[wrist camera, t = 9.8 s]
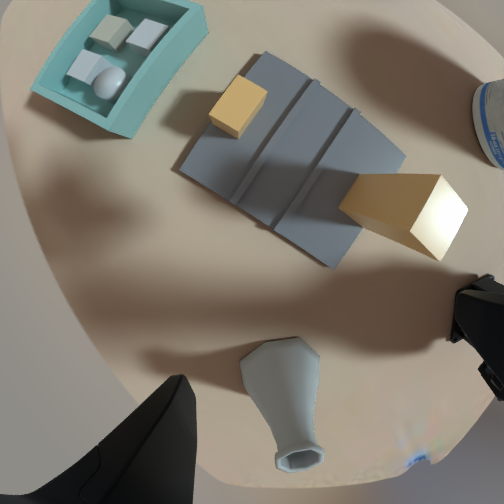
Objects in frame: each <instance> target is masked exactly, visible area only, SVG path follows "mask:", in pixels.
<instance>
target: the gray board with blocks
mask: <svg viewBox="0 0 504 504" xmlns="http://www.w3.org/2000/svg"><path fill="white" fill-rule="evenodd" d="M320 83H321V82H320V81H318V80H317V79H314V80H313V79H311V78H310V77H308V76H307V75H305V74H304V73H302V72H300V71H299V70H297V69H296V68H294V67H292V66H291V65H289V64H287V63H286V62H284V61H282V60H281V59H279V58H277V57H276V56H274V55H272V54H270V53H268V52H267V51H265V52H264V53H263V54H262V56H261V57H260V58H259V59H258V60H257V62H256V63H255V64H254V65H253V66H252V68H251V69H250V70H249V71H248V73H247V74H246V75H245V76H244V77H242V76H240V75H237V77H236V78H235V79H234V81H233V82H232V83H231V84H230V86H229V87H228V88H227V90H226V91H225V92H224V94H223V95H222V96H221V98H220V99H219V100H218V102H217V103H216V104H215V106H214V107H213V109H212V110H211V111H210V113H209V116H210V119H211V122H210V124H209V125H208V126H207V128H206V129H205V131H204V132H203V134H202V135H201V137H200V138H199V140H198V141H197V143H196V144H195V146H194V147H193V149H192V150H191V152H190V153H189V155H188V157H187V158H186V160H185V161H184V163H183V165H182V166H181V168H180V169H179V170H180V171H181V172H183V173H185V174H186V175H188V176H190V177H191V178H193V179H194V180H196V181H198V182H199V183H201V184H203V185H204V186H206V187H207V188H209V189H211V190H212V191H214V192H215V193H217V194H219V195H220V196H222V197H223V198H225V199H227V200H228V201H229V202H230V203H232V204H234V205H236V206H238V207H239V208H241V209H242V210H244V211H246V212H247V213H249V214H250V215H252V216H253V217H255V218H256V219H258V220H260V221H261V222H263V223H264V224H266V225H267V226H269V227H270V228H272V229H273V230H274V231H276V232H277V233H279V234H281V235H283V236H284V237H286V238H287V239H289V240H290V241H292V242H293V243H295V244H296V245H298V246H299V247H301V248H302V249H304V250H305V251H307V252H308V253H310V254H311V255H313V256H314V257H316V258H317V259H319V260H320V261H321V262H323V263H324V264H326V265H327V266H329V267H330V268H332V269H333V270H334V269H335V268H336V266H337V265H338V264H339V262H340V261H341V259H342V258H343V256H344V255H345V254H346V252H347V251H348V249H349V248H350V246H351V245H352V243H353V242H354V240H355V239H356V237H357V236H358V234H359V233H360V231H361V230H362V228H365V229H368V230H370V231H373V232H375V233H377V234H380V235H382V236H384V237H387V238H389V239H391V240H393V241H396V242H398V243H400V244H402V245H405V246H407V247H409V248H411V249H413V250H416V251H418V252H420V253H422V254H424V255H426V256H429V257H431V258H433V259H435V260H437V261H439V262H440V261H441V260H442V258H443V256H444V255H445V253H446V251H447V249H448V248H449V246H450V244H451V242H452V240H453V239H454V237H455V235H456V233H457V231H458V229H459V227H460V225H461V223H462V221H463V219H464V217H465V215H466V213H467V211H468V208H467V207H466V206H465V204H464V203H463V202H462V200H461V199H460V198H459V196H458V195H457V194H456V193H455V191H454V190H453V189H452V188H451V186H450V185H449V184H448V183H447V181H446V180H445V179H444V178H443V177H442V176H441V175H433V174H396V173H397V172H398V170H399V168H400V166H401V165H402V163H403V161H404V159H405V158H406V155H405V154H404V153H403V152H402V151H401V150H400V149H399V148H398V147H397V146H395V145H394V144H393V143H392V142H391V141H390V140H389V139H388V138H387V137H386V136H385V135H383V134H382V133H381V132H380V131H379V130H378V129H377V128H376V127H374V126H373V125H372V124H371V123H370V122H369V121H367V120H366V119H365V118H364V117H362V116H361V115H360V111H359V110H357V109H356V108H354V109H353V108H351V107H350V106H349V105H347V104H346V103H345V102H343V101H342V100H341V99H340V98H338V97H337V96H335V95H334V94H333V93H331V92H330V91H329V90H327V89H326V88H324V87H323V86H321V85H320Z"/></svg>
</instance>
